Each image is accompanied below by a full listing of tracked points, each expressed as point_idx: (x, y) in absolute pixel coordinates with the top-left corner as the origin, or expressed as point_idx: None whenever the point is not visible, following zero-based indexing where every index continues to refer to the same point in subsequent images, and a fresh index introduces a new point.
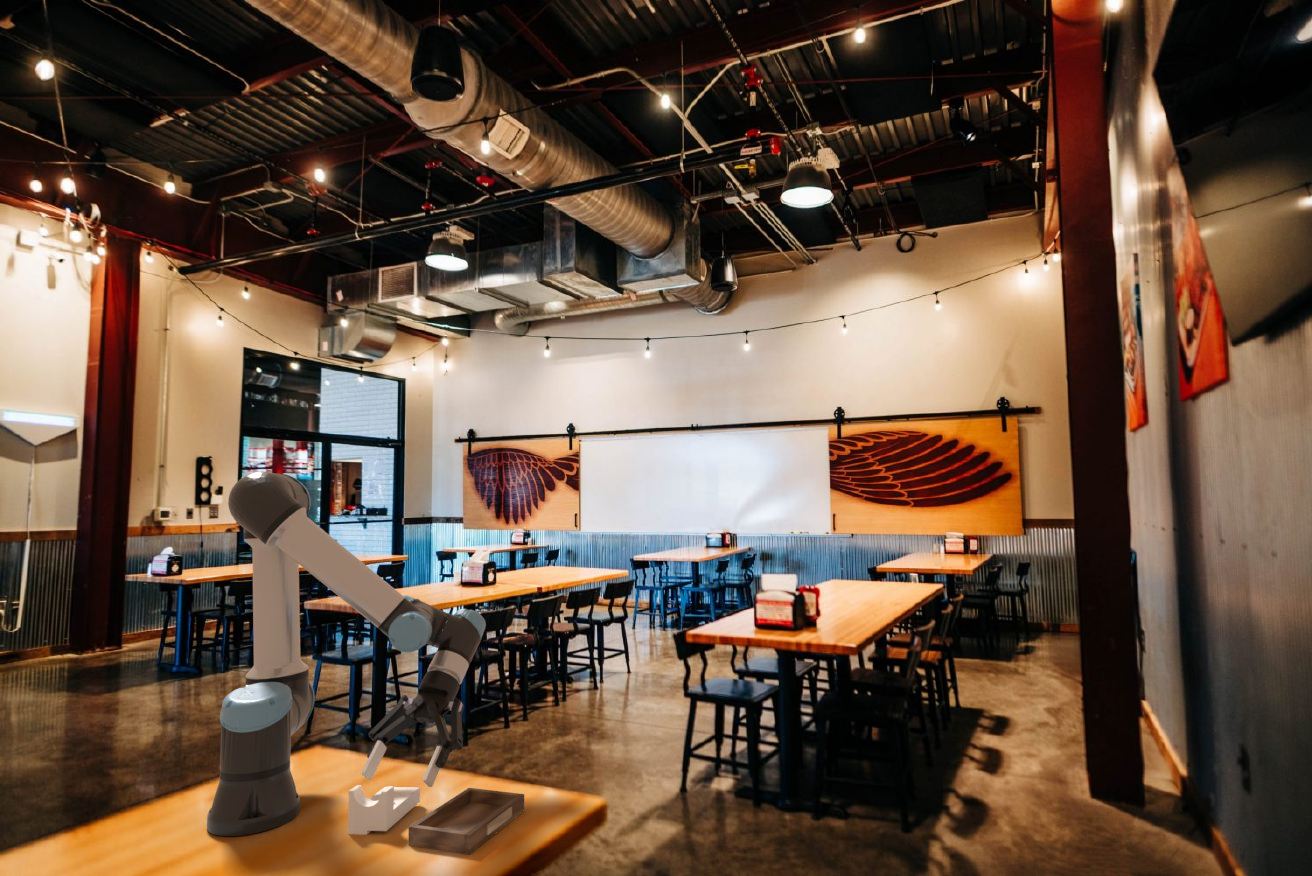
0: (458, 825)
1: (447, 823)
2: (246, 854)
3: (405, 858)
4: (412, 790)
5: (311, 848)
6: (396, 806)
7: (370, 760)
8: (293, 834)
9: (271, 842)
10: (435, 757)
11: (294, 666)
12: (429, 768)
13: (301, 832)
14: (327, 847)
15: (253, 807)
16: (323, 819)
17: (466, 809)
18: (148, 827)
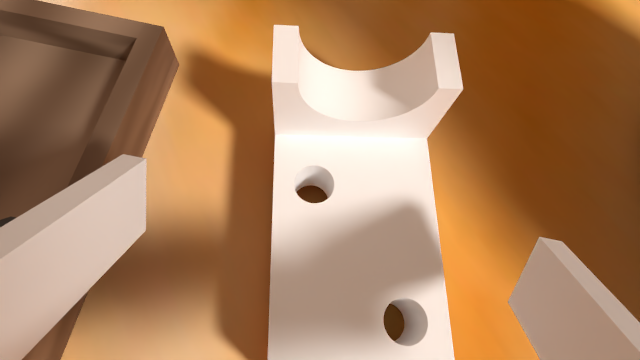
0: (28, 154)
1: (75, 168)
2: (579, 17)
3: (160, 5)
4: (287, 347)
5: None
6: (277, 162)
7: (585, 287)
8: (561, 115)
9: (577, 71)
10: (16, 219)
11: None
12: (87, 181)
13: (549, 128)
14: (406, 51)
15: None
16: (559, 218)
17: None
18: None
